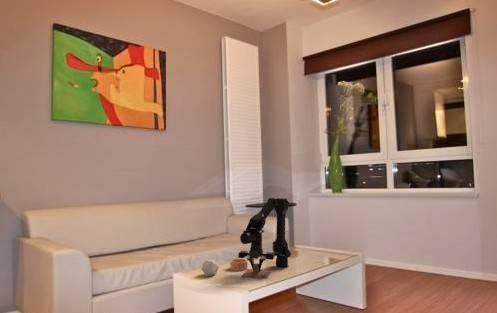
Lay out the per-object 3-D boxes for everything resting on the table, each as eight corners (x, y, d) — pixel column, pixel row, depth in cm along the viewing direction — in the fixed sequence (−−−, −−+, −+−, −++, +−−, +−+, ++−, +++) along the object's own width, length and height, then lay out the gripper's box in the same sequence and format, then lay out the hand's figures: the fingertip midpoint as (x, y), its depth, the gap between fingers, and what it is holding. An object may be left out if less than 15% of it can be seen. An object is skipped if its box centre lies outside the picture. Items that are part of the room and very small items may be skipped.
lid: (269, 272, 198) (269, 262, 199) (265, 278, 187) (265, 268, 187) (247, 270, 201) (247, 261, 201) (242, 276, 189) (242, 266, 190)
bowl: (249, 268, 210) (249, 259, 210) (245, 272, 200) (245, 263, 201) (232, 267, 212) (233, 258, 212) (228, 271, 203) (228, 262, 203)
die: (216, 273, 200) (205, 259, 201) (224, 268, 194) (213, 253, 195) (206, 282, 193) (195, 267, 194) (214, 277, 188) (203, 261, 189)
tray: (271, 273, 199) (271, 272, 199) (267, 280, 185) (267, 278, 186) (246, 271, 202) (246, 270, 202) (240, 278, 189) (240, 277, 189)
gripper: (235, 243, 189) (235, 274, 188) (271, 245, 185) (271, 276, 184) (240, 240, 200) (240, 269, 199) (274, 241, 196) (274, 271, 195)
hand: (256, 271), depth 194 cm, fingers closed on lid, 2 cm apart
